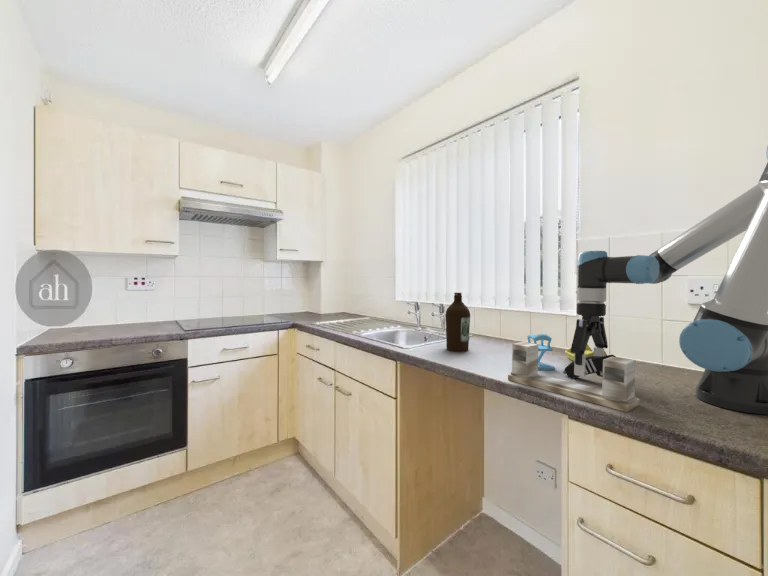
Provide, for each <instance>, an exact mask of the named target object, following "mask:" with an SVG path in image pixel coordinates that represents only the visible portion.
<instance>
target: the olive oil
mask: <svg viewBox="0 0 768 576" xmlns="http://www.w3.org/2000/svg"><path fill="white" fill-rule="evenodd" d="M453 294H454V296H453V302H451V304H450V305H449V306H448V307H447V309H446V311H445V335H446V337H445V338H446V345H445V346H446V349H447V351H451V352H460V353H461V352H467V351H469V345H470V343H469V342H470V328H471V326H470V324H471V313H470V309H469V308H468V307H467V305H466V304H464V303H465V302H463V296H462V294H463V292H454V293H453Z"/></svg>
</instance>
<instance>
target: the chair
mask: <svg viewBox="0 0 768 576" xmlns="http://www.w3.org/2000/svg"><path fill="white" fill-rule="evenodd" d="M526 339H527V341H528V342H527V343H532V341H531V339H532V340H533V341H534V342H533V344H538V341H540V344H538V352H540V354H538V371H539V370H542V371H546V370H547V371H550V370H553V371H554V370H556V366H554V365H551V364H548V363H543V362H540V361H541V359H542V358H543V356H544V354H545V353H546V352H553V348H552V347H551V342H552V339H553V338H552V337H551V336H550V335H548V334H546V333H545V334H544V333H540V334H534V333H531V334H529V335H527V336H526ZM544 341H545V342H546V341H548V342H547V345H545V344H544Z"/></svg>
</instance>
